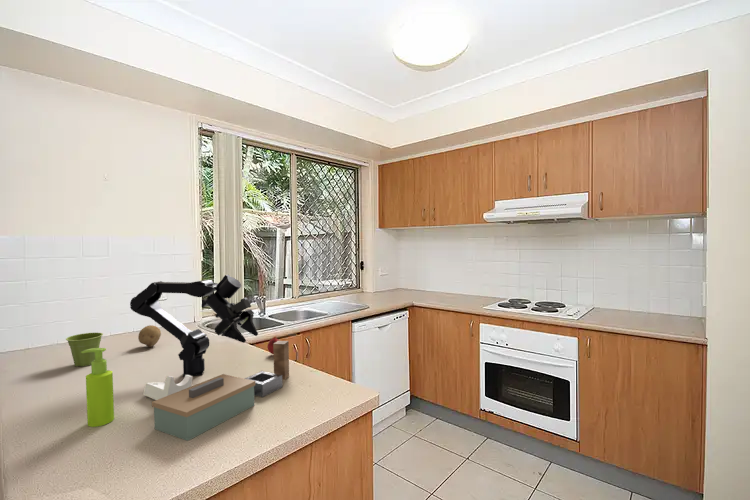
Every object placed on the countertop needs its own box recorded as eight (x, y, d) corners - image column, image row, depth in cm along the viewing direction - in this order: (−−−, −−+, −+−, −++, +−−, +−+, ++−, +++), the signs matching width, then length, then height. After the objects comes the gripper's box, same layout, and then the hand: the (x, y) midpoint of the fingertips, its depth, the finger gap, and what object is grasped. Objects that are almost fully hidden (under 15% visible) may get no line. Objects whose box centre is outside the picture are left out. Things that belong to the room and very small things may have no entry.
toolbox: (152, 429, 100) (151, 394, 99) (236, 390, 124) (235, 362, 124) (187, 441, 93) (186, 404, 93) (268, 398, 118) (267, 368, 118)
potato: (153, 349, 172) (153, 327, 172) (134, 350, 172) (133, 327, 172) (165, 344, 181) (164, 323, 181) (146, 344, 181) (145, 323, 181)
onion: (278, 357, 159) (277, 338, 159) (265, 356, 160) (264, 337, 160) (284, 353, 165) (283, 334, 164) (271, 352, 166) (271, 334, 166)
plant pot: (59, 367, 150) (58, 338, 150) (92, 358, 161) (91, 331, 161) (79, 370, 146) (78, 341, 146) (110, 361, 157) (109, 333, 156)
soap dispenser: (92, 417, 107) (90, 346, 106) (118, 416, 108) (116, 345, 107) (78, 427, 101) (75, 352, 100) (105, 426, 102) (103, 351, 101)
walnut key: (274, 379, 134) (273, 343, 134) (278, 375, 138) (277, 340, 138) (284, 379, 134) (284, 344, 133) (289, 375, 138) (288, 341, 137)
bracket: (187, 401, 119) (192, 376, 121) (165, 403, 113) (171, 377, 115) (165, 392, 126) (170, 369, 128) (143, 394, 121) (148, 369, 122)
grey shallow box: (241, 392, 123) (241, 379, 123) (262, 382, 131) (261, 371, 131) (262, 397, 119) (262, 384, 119) (282, 387, 127) (282, 375, 127)
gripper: (222, 295, 128) (254, 329, 127) (248, 288, 147) (276, 317, 146) (201, 318, 130) (232, 351, 128) (229, 308, 148) (257, 337, 147)
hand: (251, 338), depth 137 cm, fingers open, 9 cm apart
